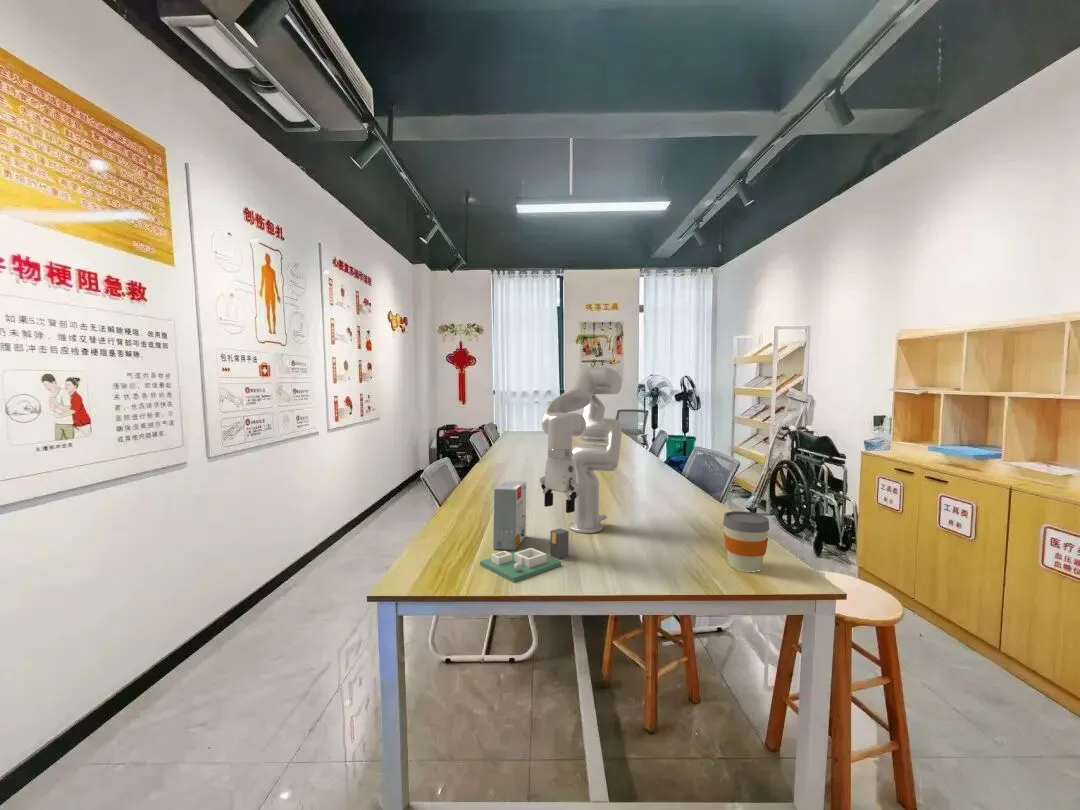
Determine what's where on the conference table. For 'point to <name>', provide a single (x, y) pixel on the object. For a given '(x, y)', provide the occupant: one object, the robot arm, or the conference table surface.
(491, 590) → the conference table surface
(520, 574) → the board
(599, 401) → the robot arm
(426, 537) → the conference table surface
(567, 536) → the plug
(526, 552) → the frame
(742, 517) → the reusable coffee cup
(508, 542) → the hard drive box
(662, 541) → the conference table surface
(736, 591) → the conference table surface
